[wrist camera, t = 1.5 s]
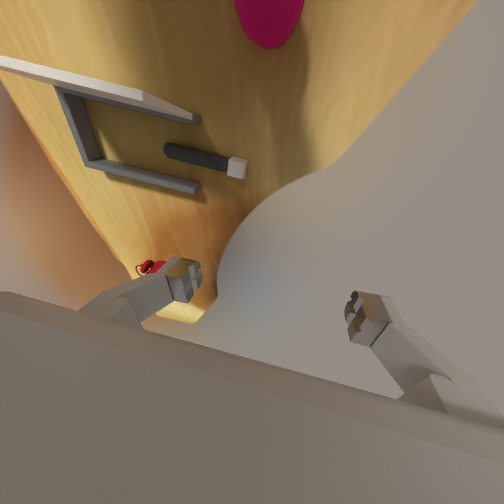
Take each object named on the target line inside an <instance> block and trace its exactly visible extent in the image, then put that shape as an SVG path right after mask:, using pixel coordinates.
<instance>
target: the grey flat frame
mask: <svg viewBox="0 0 504 504" xmlns="http://www.w3.org/2000/svg"><path fill="white" fill-rule="evenodd" d="M53 86H54V85H53ZM54 88H55V91H56V93H57V96H58V98H59V101H60V103H61V106H62V109H63V111H64V114H65V116H66V119H67V121H68V124H69V126H70V129H71V131H72V134H73V136H74V139H75V142H76V144H77V147H78V149H79V152H80V154H81V157H82V159H83V162H84V164H85V167H89V168H93V169H97V170H101V171H105V172H109V173H112V174H116V175H120V176H124V177H128V178H132V179H136V180H140V181H144V182H148V183H152V184H156V185H160V186H163V187H167V188H171V189H175V190H179V191H183V192H187V193H191V194H195V193H196V192H197V191H198V190H200V183H197V182H194V181H190V180H186V179H182V178H178V177H174V176H170V175H166V174H162V173H158V172H154V171H150V170H146V169H142V168H138V167H135V166H131V165H127V164H123V163H119V162H115V161H111V160H107V159H103V158H101V155H100V152H99V149H98V146H97V143H96V139H95V136H94V133H93V130H92V127H91V124H90V121H89V118H88V115H87V112H86V109H85V106H84V103H83V100H82V97H84V98H88V99H92V100H95V101H99V102H103V103H107V104H111V105H115V106H119V107H123V108H127V109H131V110H135V111H139V112H143V113H147V114H151V115H155V116H159V117H163V118H167V119H171V120H175V121H179V122H183V123H187V124H191V125H195V124H200V114H196V113H192V112H190V113H192V120H190V119H186V118H182V117H178V116H174V115H170V114H166V113H162V112H158V111H154V110H150V109H146V108H142V107H138V106H134V105H130V104H126V103H122V102H118V101H114V100H110V99H106V98H102V97H98V96H94V95H90V94H86V93H82V92H78V91H74V90H70V89H66V88H62V87H58V86H54Z"/></svg>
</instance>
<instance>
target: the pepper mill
mask: <svg viewBox="0 0 504 504" xmlns="http://www.w3.org/2000/svg"><path fill="white" fill-rule="evenodd" d="M234 3H235V8H236V12H237V15H238V18H239V21H240V23H241V26H242V28H243V30H244V32H245V33H246V34H247V36H248V37H249V38H250V39H251V40H252V41H253V42H255V43H256V44H258V45H260V46H262V47H264V48H267V49H273V48H277V47H279V46H281V45H282V44H283V43H285V41H286V40H287V39H288V38H289V37H290V35H291V34H292V32H293V30H294V28H295V25H296V23H297V21H298V19H299V16H300V14H301V11H302V8H303V5H304V0H234Z"/></svg>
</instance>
